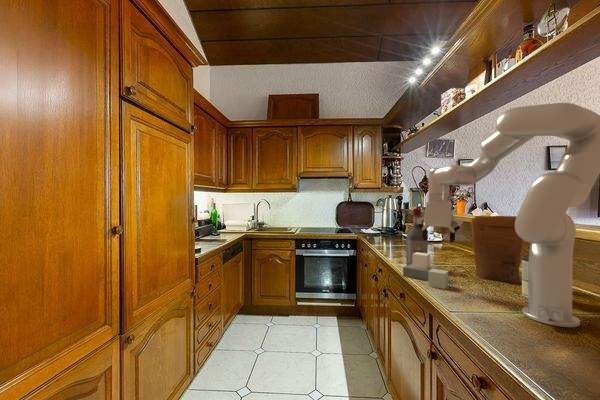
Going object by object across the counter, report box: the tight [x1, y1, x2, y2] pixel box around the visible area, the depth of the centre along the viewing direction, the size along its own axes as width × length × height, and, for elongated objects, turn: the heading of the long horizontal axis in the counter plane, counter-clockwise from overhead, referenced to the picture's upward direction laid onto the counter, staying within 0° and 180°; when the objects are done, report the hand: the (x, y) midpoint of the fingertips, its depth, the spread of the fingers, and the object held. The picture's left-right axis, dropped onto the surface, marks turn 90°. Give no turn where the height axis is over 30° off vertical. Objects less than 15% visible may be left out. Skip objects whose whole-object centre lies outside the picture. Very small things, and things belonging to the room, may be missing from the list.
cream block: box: [412, 252, 431, 269], centre depth 128 cm, size 6×6×6 cm
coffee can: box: [520, 254, 529, 299], centre depth 100 cm, size 10×10×14 cm
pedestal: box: [402, 263, 440, 282], centre depth 128 cm, size 12×12×4 cm
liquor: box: [405, 208, 429, 266], centre depth 144 cm, size 9×9×30 cm
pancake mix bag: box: [470, 215, 524, 284], centre depth 123 cm, size 7×19×28 cm, turn 50°
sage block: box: [427, 268, 449, 290], centre depth 113 cm, size 6×6×6 cm
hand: (438, 241), depth 113 cm, fingers open, 9 cm apart
